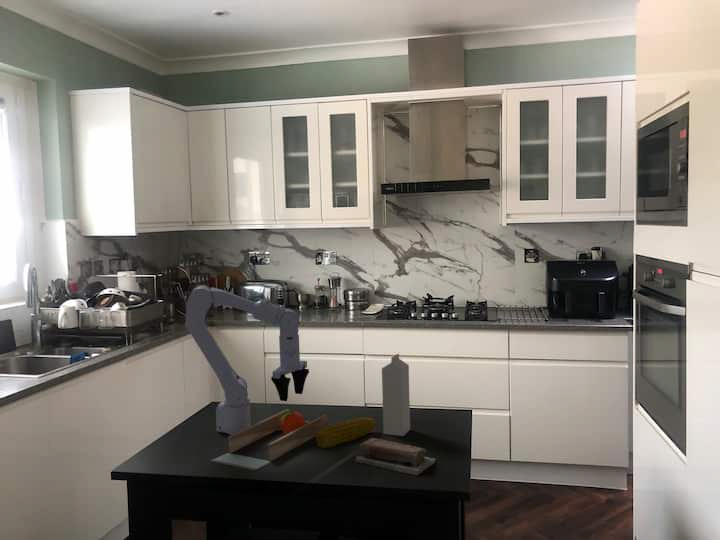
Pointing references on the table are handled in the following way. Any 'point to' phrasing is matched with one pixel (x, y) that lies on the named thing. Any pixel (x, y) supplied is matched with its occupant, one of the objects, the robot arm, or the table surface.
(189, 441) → the table surface
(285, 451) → the crate
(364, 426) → the food
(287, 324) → the robot arm
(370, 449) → the packaged product
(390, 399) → the milk
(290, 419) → the clementine
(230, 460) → the panel
